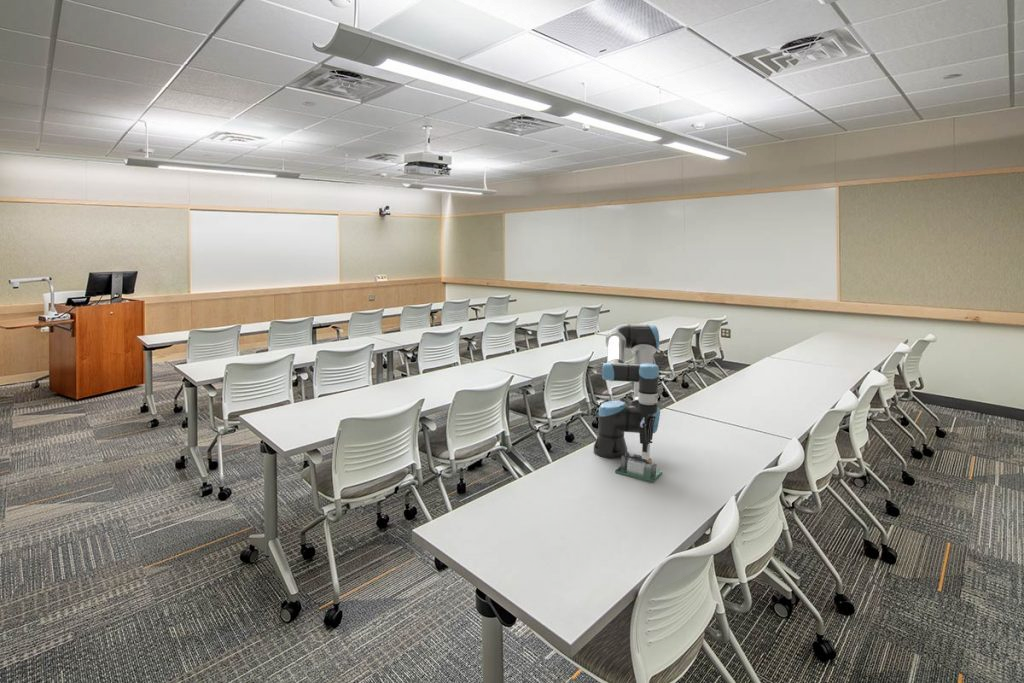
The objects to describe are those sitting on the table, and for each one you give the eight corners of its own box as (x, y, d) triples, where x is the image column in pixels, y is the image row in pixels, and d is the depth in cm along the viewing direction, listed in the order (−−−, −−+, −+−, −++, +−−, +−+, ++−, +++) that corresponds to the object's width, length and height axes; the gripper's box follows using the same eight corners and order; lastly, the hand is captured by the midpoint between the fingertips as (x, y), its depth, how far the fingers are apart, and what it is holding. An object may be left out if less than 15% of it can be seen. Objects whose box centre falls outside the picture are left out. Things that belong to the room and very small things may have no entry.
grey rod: (623, 458, 217) (623, 454, 216) (625, 457, 218) (625, 452, 218) (650, 464, 210) (650, 460, 210) (651, 463, 212) (652, 458, 211)
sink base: (615, 472, 215) (615, 457, 214) (625, 463, 224) (626, 449, 222) (652, 482, 206) (653, 467, 204) (662, 473, 215) (663, 458, 213)
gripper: (651, 407, 200) (648, 465, 204) (662, 400, 211) (660, 455, 214) (632, 404, 205) (630, 461, 208) (644, 397, 215) (642, 452, 219)
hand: (645, 458), depth 211 cm, fingers closed
